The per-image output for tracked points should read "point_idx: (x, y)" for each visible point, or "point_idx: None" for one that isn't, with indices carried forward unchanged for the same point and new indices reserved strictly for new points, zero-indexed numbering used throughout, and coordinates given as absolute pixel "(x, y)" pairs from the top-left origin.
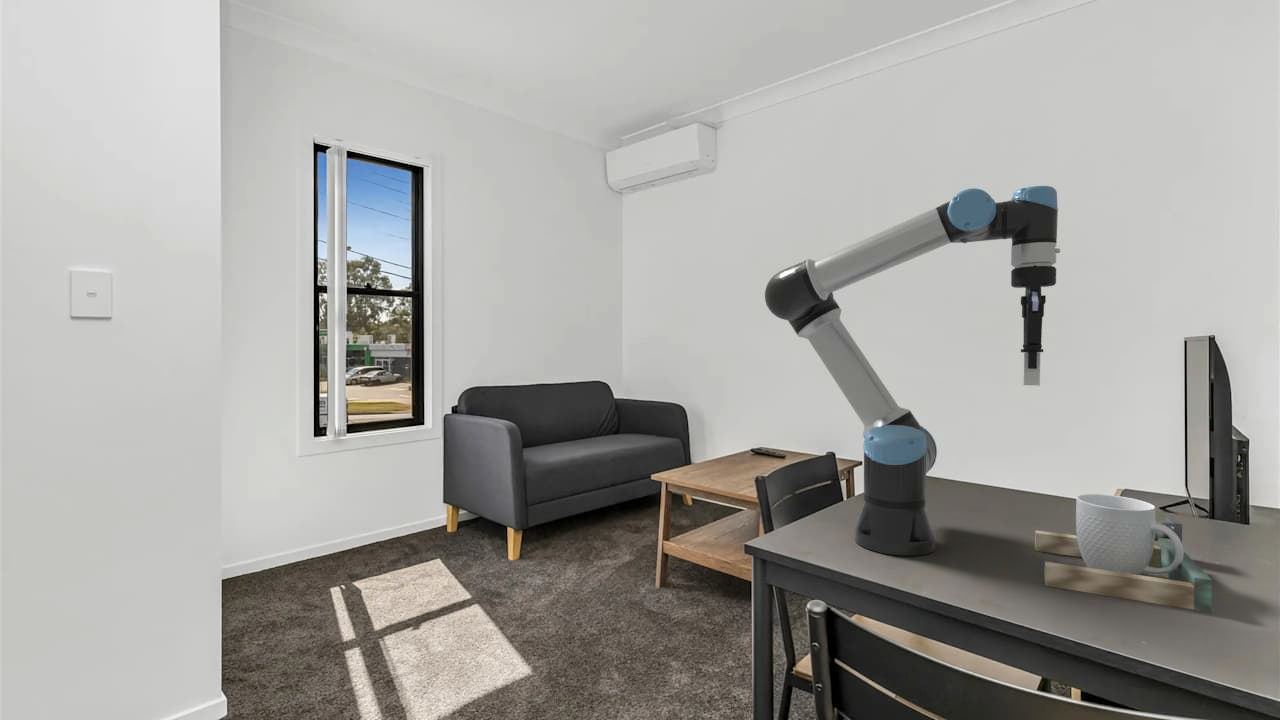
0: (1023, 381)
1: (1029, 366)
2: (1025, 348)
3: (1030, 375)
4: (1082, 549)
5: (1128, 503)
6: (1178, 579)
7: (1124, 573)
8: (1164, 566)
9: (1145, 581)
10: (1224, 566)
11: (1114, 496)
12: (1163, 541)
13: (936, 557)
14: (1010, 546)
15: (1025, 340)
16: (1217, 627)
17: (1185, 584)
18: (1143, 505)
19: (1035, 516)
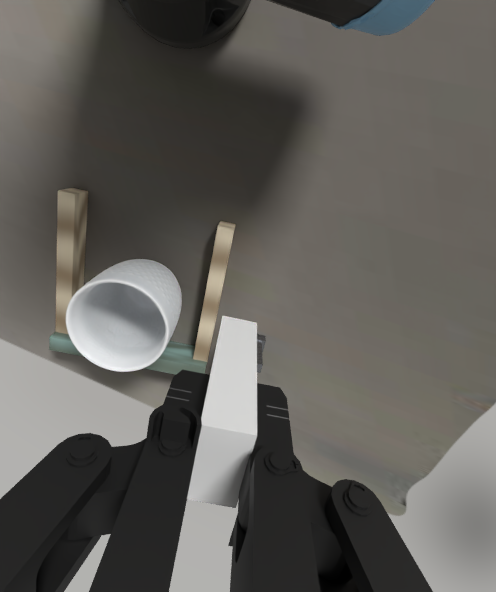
0: (237, 326)
1: (174, 380)
2: (159, 449)
3: (212, 363)
4: (132, 259)
5: (155, 352)
6: None
7: (70, 279)
8: (177, 346)
9: (56, 292)
10: None
11: (163, 343)
12: (189, 366)
13: (132, 42)
14: (232, 188)
15: (160, 518)
16: (28, 319)
17: (60, 327)
18: (136, 364)
19: (413, 278)
